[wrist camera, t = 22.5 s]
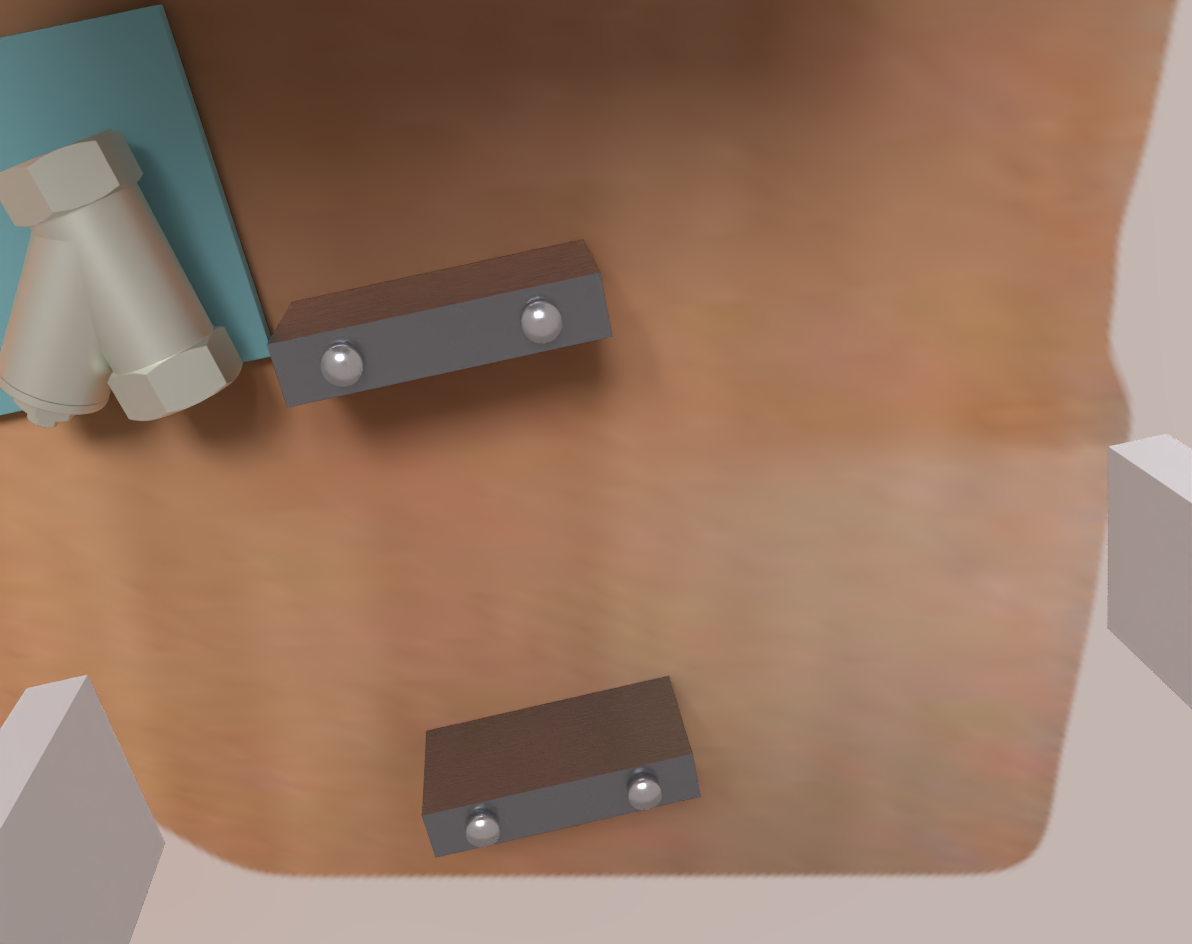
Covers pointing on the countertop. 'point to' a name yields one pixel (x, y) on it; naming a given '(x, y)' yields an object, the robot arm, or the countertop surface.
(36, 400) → the pipe fitting
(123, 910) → the robot arm
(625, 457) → the countertop surface
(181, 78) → the mat
